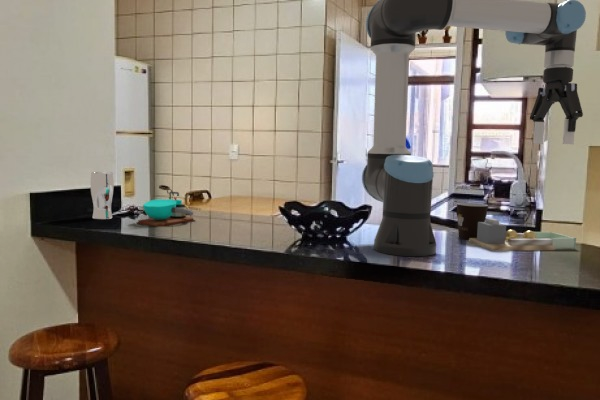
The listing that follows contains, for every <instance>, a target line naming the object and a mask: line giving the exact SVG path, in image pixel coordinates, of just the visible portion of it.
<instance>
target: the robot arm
mask: <svg viewBox="0 0 600 400" xmlns="http://www.w3.org/2000/svg"><path fill="white" fill-rule="evenodd" d="M586 17H587V13H586V8H585V6H584V5H583V4H582V3H581V2H580V1H579V0H564V1H562V2H560V3H557V2H546V1H545V2H543V1H534V0H377V1H376V3H375V4H374V5H373V6H372V8H370V11H369V13H368V14H367V17H366V21H365V22H366V23H365V27H366V28H365V29H366V33H367V36H368V37H369V38H370V51H371V52H372V53H373V54H374V55H375V79H374V80H375V81H374V83H375V85H374V110H373V111H374V113H373V117H374V118H373V144H372V145H373V146H372V147H371V148H370V149H369V150H368V151H367V158H366V159H367V160H366V165H365V167H364V168H363V170H362V175H361V183H362V186H363V189H364V190H365V192H366V193H367V194H368V195H369V196H370V197H372V199H373V200H376V201H378V202H381V203H382V219H381V221H380V223H379V227H378V229H377V232H376V235H375V237H374V239H373V240H374V241H373V242H374V244H373V249H374V250H375V251H377V252H379V253H383V254H385V255H386V254H387V255H392V256H400V257H426V256H432V255H435V254H436V253H437V242H436V241H437V240H436V239H435V234H434V230H433V227H432V223H431V222H432V221H431V213H432V211H431V210H432V197H433V195H432V194H433V182H434V181H433V178H434V165H433V162H432V161H431V159H429V158H426V157H423V156H416V155H412V152H411V151H410V150H409V148H407V146H406V145H407V144H406V143H407V142H406V140H407V118H408V117H407V116H408V115H407V114H408V113H407V112H408V93H409V92H408V91H409V90H408V89H409V61H410V54H412V52H414V51H415V49H416V39H417V38H416V37H417V35H416V34H417V33H419V32H423V31H428V30H429V31H430V30H438V31H443V30H445V29H446V28H447V27H453V28H466V29H467V28H468V29H478V30H479V29H480V30H490V31H492V30H493V31H501V32H502V31H504V32H505V39H506V40H507V41H508V42H509V43H511V44H517V45H529V46H531V45H533V46H545V47H544V61H543V67H544V68H545V69H544V70H543V74H542V75H543V76H542V82H543V83H545V84H546V85H545V87H538V91H537V97H536V98H535V102H534V104H533V107H532V110H531V112H530V116H529V120H531V121H533V123H534V124H533V141H532V143H533V145H543V144H544V133H545V124H546V123H545V117H546V116H547V114H548V112H549V110H550V109H551V107H552V106H553V105H554V104H555V103H559V104H560V107H561V109H562V111H563V113H564V115H565V118H564V123H563V124H564V125H563V137H562V145H574V142H575V132H576V127H577V120H578V119H579V118H583V116H584V112H583V109H582V105H581V102H580V97H579V93H578V84H577V83H575V82H573V79H574V78H573V77H574V69H573V67H574V63H575V51H576V42H577V32H578V30H579V29H581V28H582V27H583V25H584V23H585V21H586Z"/></svg>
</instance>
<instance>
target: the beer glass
mask: <svg viewBox="0 0 600 400" xmlns="http://www.w3.org/2000/svg"><path fill="white" fill-rule="evenodd" d="M113 174H114V173H113V172H112V171H94V172H93V171H91V172H90V195H91V199H92V204H93V205H92V206H93V211H92V212H93V213H92V219H94V220H110V219H112V218H113V213H112V202H113V195H114V188H115V187H114V175H113Z"/></svg>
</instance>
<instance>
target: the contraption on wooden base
mask: <svg viewBox="0 0 600 400" xmlns="http://www.w3.org/2000/svg"><path fill="white" fill-rule="evenodd" d="M158 189H160V190H162V191H166V192H167V196H168V199H166V198H165V199H162V198H161V199H151V200H149V201H146V202H145V203H143V204H142V207H143V210H144V212H145V214H146V215H147V216H148V217H149V218H146V219H145V218H144V219H138V221H137V222H136V224H137V225H140V226H141V225H142V226H149V227H169V226H170V227H171V226H176V225H181V224H188V223H194V222H196V220H195V219H194V218H193V217H191V216H192V215H194V211H193V210H191V209H190V208H189V206H188V205H186V204H185V203H184V204H182V202H183V201H182V200H181V199H177V197H179V196H180V192H179V191H173V189H171V187H170V186H168V185H165V184H160V185H159V186H158ZM174 194H175V195H176V197H175V195H174ZM172 196H173V197H174V198H173V199H172Z"/></svg>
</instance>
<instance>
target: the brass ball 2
mask: <svg viewBox="0 0 600 400" xmlns="http://www.w3.org/2000/svg"><path fill="white" fill-rule="evenodd" d="M534 232H535V231H534V230H533V231H532V230H526V231H524V232H523V233H524V235H523V238H524V239H536V234H535V233H534Z"/></svg>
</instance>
